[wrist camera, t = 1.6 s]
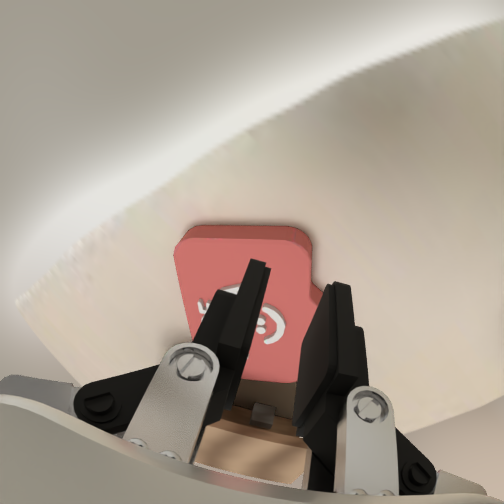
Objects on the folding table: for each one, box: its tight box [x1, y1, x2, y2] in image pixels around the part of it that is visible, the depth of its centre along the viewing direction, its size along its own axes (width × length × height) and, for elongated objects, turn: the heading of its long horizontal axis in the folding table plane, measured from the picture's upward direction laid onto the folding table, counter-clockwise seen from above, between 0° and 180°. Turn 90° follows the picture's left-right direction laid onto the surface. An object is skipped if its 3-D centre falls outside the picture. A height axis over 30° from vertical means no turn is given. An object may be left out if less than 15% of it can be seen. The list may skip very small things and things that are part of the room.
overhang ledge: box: [195, 402, 308, 484], centre depth 36 cm, size 20×12×10 cm, turn 78°
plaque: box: [173, 225, 323, 383], centre depth 32 cm, size 18×4×15 cm
